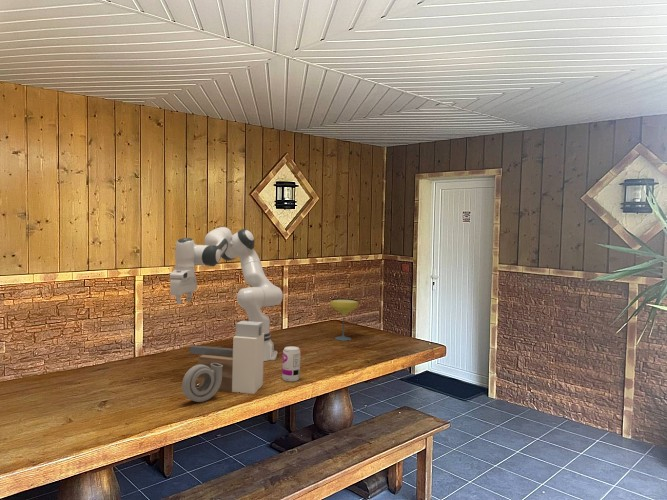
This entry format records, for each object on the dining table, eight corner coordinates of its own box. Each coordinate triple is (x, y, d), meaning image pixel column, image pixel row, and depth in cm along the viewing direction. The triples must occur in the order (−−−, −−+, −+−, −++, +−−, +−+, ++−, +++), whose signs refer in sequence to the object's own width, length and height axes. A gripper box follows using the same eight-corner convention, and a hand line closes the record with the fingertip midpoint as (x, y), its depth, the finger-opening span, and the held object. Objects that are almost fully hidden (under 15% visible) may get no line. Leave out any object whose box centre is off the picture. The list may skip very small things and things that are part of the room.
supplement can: (283, 382, 235) (284, 350, 234) (280, 377, 243) (281, 346, 242) (300, 381, 237) (302, 350, 236) (297, 376, 245) (298, 345, 244)
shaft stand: (241, 383, 232) (243, 319, 230) (262, 385, 230) (264, 321, 228) (231, 391, 220) (233, 324, 218) (254, 394, 218) (255, 326, 216)
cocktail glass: (325, 336, 332) (327, 298, 331) (351, 335, 338) (353, 298, 336) (334, 342, 315) (335, 302, 314) (361, 341, 321) (362, 302, 319)
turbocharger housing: (187, 407, 200) (188, 370, 199) (179, 403, 204) (179, 366, 203) (223, 397, 212) (224, 362, 211) (214, 393, 217) (215, 359, 216)
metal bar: (192, 351, 230) (192, 345, 230) (234, 355, 227) (234, 348, 226) (189, 353, 227) (189, 346, 227) (231, 357, 224) (232, 350, 223)
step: (209, 380, 234) (210, 350, 233) (241, 383, 232) (242, 353, 231) (198, 388, 222) (199, 357, 222) (231, 391, 220) (232, 360, 219)
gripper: (188, 270, 247) (187, 298, 247) (167, 274, 227) (167, 305, 227) (200, 271, 246) (200, 299, 246) (180, 275, 225) (180, 306, 226)
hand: (184, 302), depth 237 cm, fingers open, 8 cm apart
